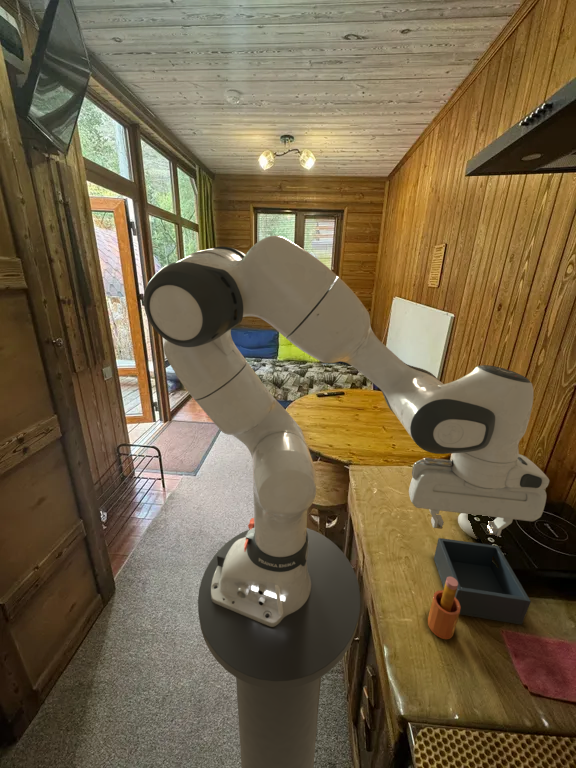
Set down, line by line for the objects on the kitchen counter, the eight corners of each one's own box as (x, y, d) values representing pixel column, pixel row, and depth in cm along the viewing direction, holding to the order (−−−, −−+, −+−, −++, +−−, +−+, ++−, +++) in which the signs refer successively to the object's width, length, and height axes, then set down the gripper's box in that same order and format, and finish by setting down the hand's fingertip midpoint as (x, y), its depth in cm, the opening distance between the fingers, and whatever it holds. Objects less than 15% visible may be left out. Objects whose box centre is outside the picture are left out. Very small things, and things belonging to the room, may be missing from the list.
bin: (451, 613, 65) (458, 590, 63) (433, 558, 78) (438, 537, 76) (521, 624, 63) (531, 601, 61) (491, 567, 76) (498, 545, 74)
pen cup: (431, 637, 61) (437, 612, 58) (424, 612, 65) (430, 588, 63) (457, 641, 60) (464, 617, 58) (448, 616, 65) (455, 592, 62)
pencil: (437, 628, 62) (448, 585, 58) (434, 618, 64) (445, 575, 60) (447, 630, 61) (459, 587, 57) (444, 620, 63) (456, 577, 59)
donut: (452, 531, 87) (494, 550, 80) (454, 521, 86) (497, 540, 79) (461, 512, 94) (500, 528, 88) (463, 503, 93) (502, 518, 87)
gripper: (419, 467, 49) (407, 535, 54) (562, 481, 46) (536, 552, 51) (410, 447, 55) (400, 509, 60) (537, 458, 52) (516, 523, 56)
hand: (464, 529), depth 55 cm, fingers open, 8 cm apart
